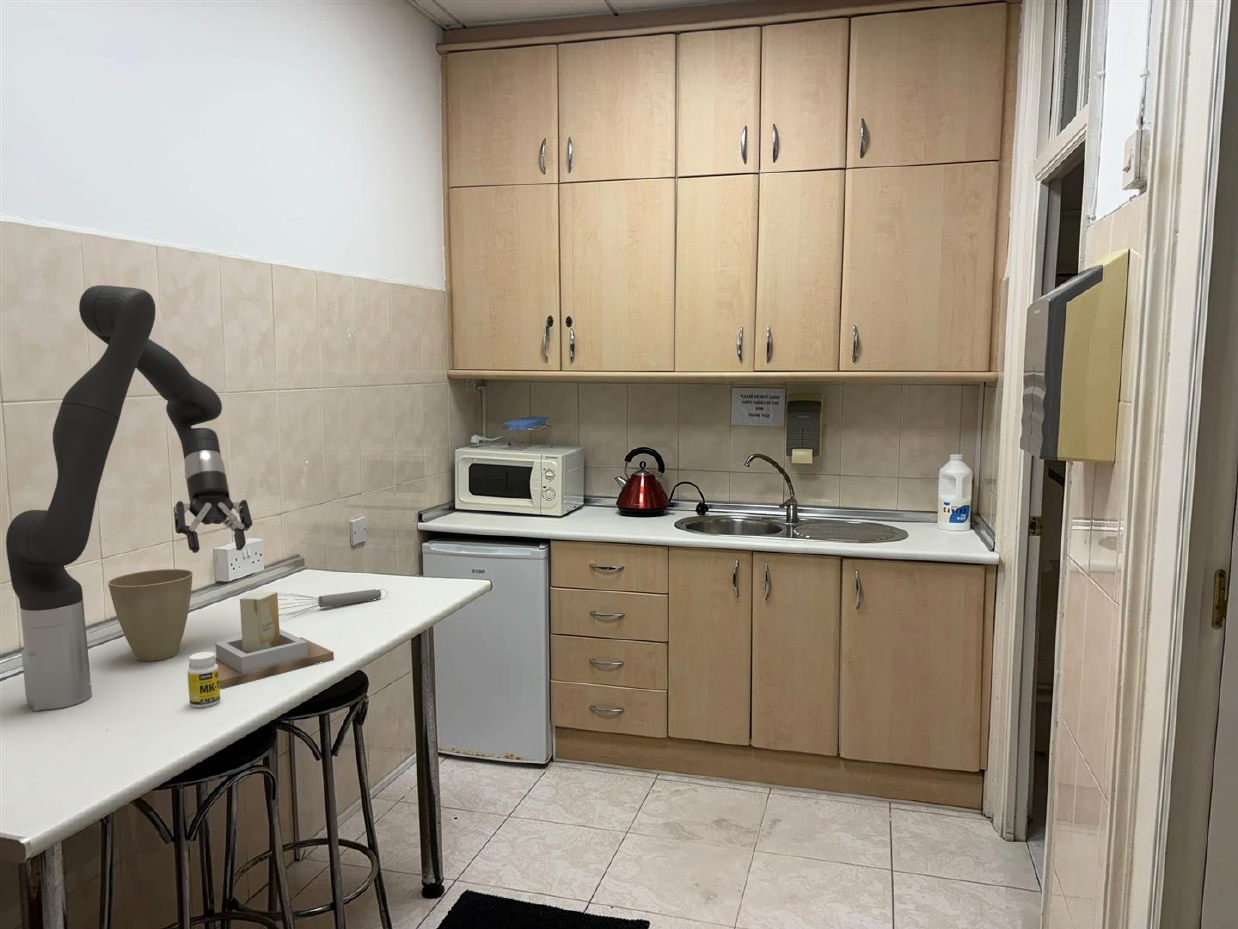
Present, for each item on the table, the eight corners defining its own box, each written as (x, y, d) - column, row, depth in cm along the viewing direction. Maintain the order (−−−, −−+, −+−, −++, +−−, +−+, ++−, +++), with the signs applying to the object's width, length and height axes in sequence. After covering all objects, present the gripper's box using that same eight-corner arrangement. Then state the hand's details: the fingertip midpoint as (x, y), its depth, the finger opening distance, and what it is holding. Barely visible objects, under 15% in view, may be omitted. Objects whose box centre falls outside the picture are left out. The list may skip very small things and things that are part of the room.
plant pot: (214, 649, 186) (208, 572, 184) (146, 672, 173) (139, 589, 171) (166, 640, 193) (160, 565, 191) (98, 661, 180) (91, 581, 178)
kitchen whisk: (393, 600, 222) (392, 574, 221) (251, 630, 201) (249, 601, 200) (382, 595, 227) (380, 570, 226) (241, 624, 205) (239, 596, 204)
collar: (242, 673, 166) (241, 657, 166) (216, 658, 175) (215, 643, 175) (308, 657, 175) (307, 641, 175) (280, 643, 184) (279, 628, 184)
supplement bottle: (200, 710, 153) (197, 661, 152) (184, 705, 156) (180, 657, 155) (226, 701, 157) (223, 653, 156) (209, 696, 160) (206, 649, 159)
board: (218, 689, 163) (217, 681, 163) (189, 671, 173) (189, 663, 173) (333, 659, 178) (333, 652, 178) (301, 644, 188) (301, 637, 188)
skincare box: (263, 663, 172) (258, 599, 170) (242, 662, 173) (237, 598, 171) (282, 652, 178) (278, 590, 177) (262, 651, 179) (258, 590, 178)
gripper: (174, 469, 181) (186, 544, 176) (247, 469, 191) (261, 540, 186) (163, 485, 186) (175, 559, 181) (235, 485, 196) (248, 555, 190)
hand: (218, 550), depth 183 cm, fingers open, 8 cm apart
